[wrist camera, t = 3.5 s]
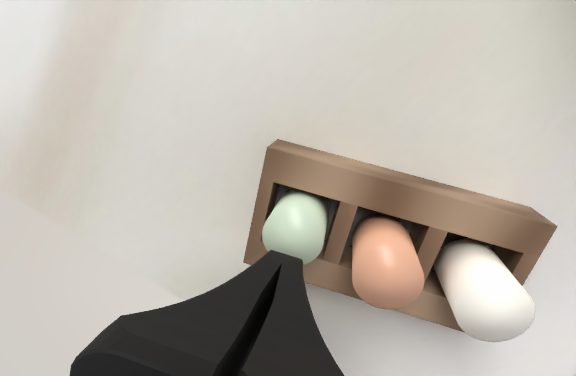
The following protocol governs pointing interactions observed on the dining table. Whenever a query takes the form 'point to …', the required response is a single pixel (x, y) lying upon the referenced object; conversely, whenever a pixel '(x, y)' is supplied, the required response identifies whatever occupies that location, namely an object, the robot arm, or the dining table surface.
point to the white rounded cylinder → (483, 291)
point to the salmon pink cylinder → (385, 263)
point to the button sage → (297, 225)
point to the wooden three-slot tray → (403, 204)
